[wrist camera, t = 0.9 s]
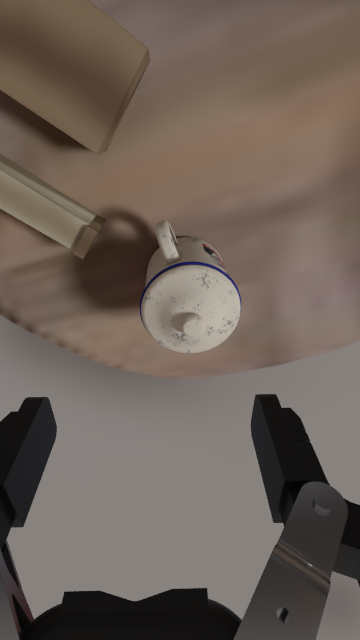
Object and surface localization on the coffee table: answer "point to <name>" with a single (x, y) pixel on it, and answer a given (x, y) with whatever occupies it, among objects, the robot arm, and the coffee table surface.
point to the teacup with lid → (188, 294)
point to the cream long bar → (47, 208)
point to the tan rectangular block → (70, 66)
